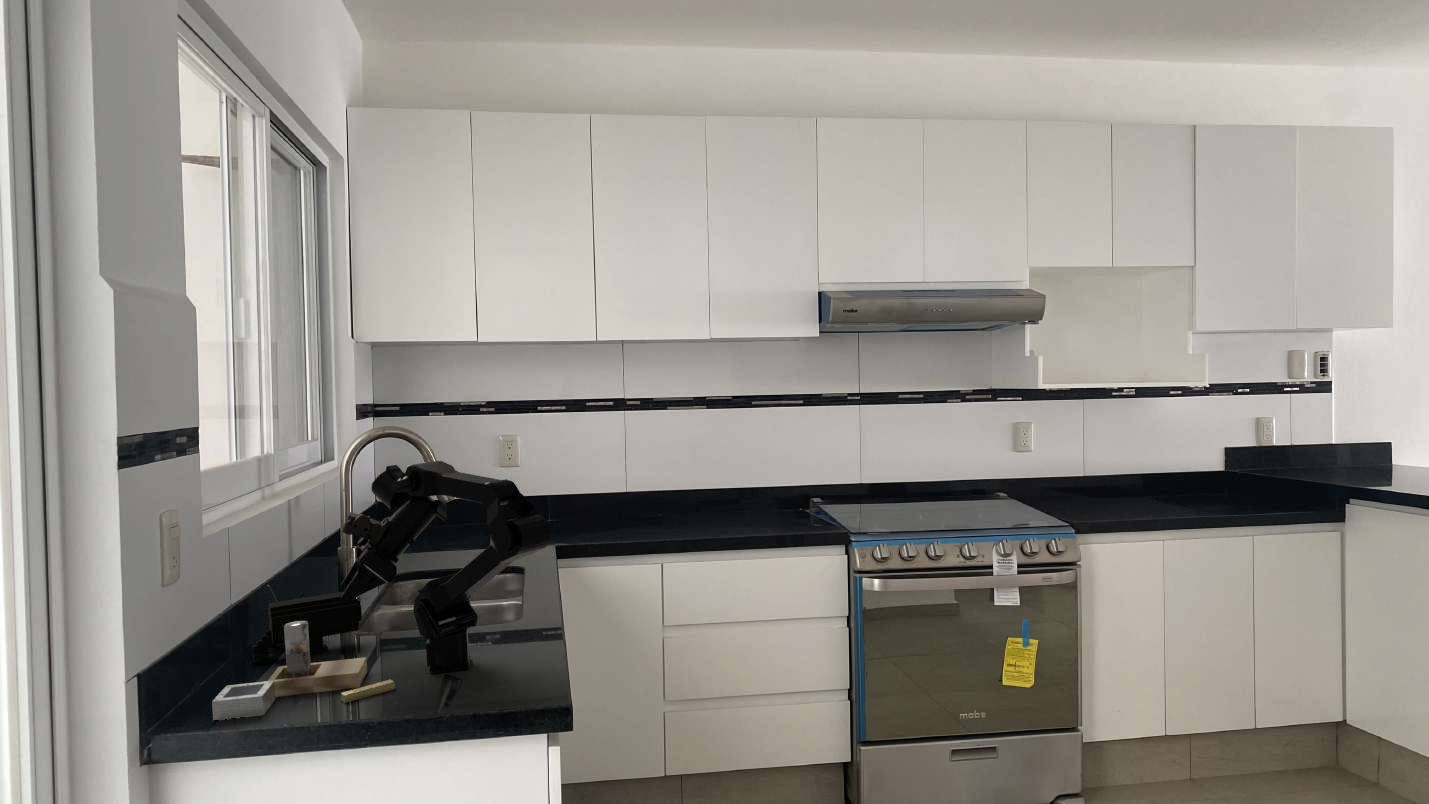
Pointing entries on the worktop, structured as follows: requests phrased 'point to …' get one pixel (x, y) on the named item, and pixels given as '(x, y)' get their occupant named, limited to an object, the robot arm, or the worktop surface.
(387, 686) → the bar
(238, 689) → the socket block
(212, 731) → the worktop surface
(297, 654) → the tin canister
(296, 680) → the wooden box
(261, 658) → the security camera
